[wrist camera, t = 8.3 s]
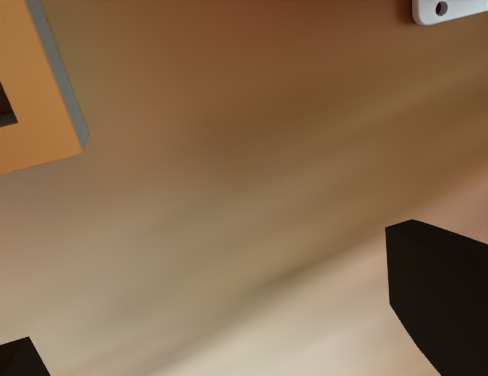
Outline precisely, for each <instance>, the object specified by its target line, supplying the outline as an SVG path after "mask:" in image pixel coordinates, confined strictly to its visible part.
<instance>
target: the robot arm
mask: <svg viewBox="0 0 488 376" xmlns="http://www.w3.org/2000/svg"><path fill="white" fill-rule="evenodd" d="M438 3H440V4H441V11H440V12H439V14H436V11H435V9H436V6H437V4H438ZM485 11H488V0H412V13H413V19H414V21H415V22H416V23H417V24H419V25H432V24H436V23H440V22H444V21H448V20H452V19H456V18H461V17H465V16H469V15H473V14H477V13H481V12H485ZM385 233H386V250H387V267H388V284H389V301H390V305H391V307H392V309H393V310H394V312H395V313H396V315H397V317H398V318H399V320H400V321H401V323H402V324H403V326H404V328H405V329H406V331H407V332H408V334H409V335H410V337H411V338H412V340H413V341H414V342H415V344H416V345H417V347H418V348H419V349H420V350H421V352H422V353H423V354H424V355H425V357H426V358H427V359H428V360H429V361H430V363H431V364H432V365H433V366H434V367H435V369H436V370H437V371H438V372H439V373H440V375H441V376H488V244H485V243H482V242H479V241H477V240H474V239H471V238H468V237H465V236H462V235H460V234H457V233H454V232H451V231H448V230H445V229H442V228H439V227H436V226H433V225H430V224H427V223H424V222H420V221H417V220H413V219H411V220H408V221H405V222H401V223H398V224H395V225H392V226H388V227H385ZM0 376H50V374H49V372H48V370H47V368H46V366H45V365H44V363H43V361H42V359H41V357H40V356H39V354H38V352H37V350H36V348H35V347H34V345H33V343H32V341H31V339H30V338H29V336H28V337H25V338H22V339H19V340H15V341H12V342H9V343H6V344H2V345H0Z"/></svg>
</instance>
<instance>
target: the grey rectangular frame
mask: <svg viewBox="0 0 488 376" xmlns="http://www.w3.org/2000/svg"><path fill="white" fill-rule="evenodd" d="M0 82H1V84H2V86H3V88H4V91H5V93H6V95H7V98H8V100H9V102H10V104H11V107H12V109H13V111H14V112H9V113H5V114H1V115H0V175H1V174H4V173H8V172H12V171H16V170H20V169H24V168H28V167H32V166H36V165H39V164H43V163H47V162H51V161H55V160H59V159H63V158H67V157H71V156H74V155H78V154H82V151H83V148H84V146H85V143H86V140H87V137H88V131H87V128H86V125H85V123H84V120H83V117H82V115H81V112H80V109H79V106H78V104H77V101H76V98H75V96H74V93H73V90H72V87H71V85H70V82H69V79H68V77H67V74H66V71H65V69H64V66H63V63H62V60H61V58H60V55H59V52H58V50H57V47H56V44H55V41H54V39H53V36H52V33H51V31H50V28H49V25H48V22H47V20H46V17H45V14H44V12H43V9H42V6H41V4H40V1H39V0H0Z"/></svg>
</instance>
